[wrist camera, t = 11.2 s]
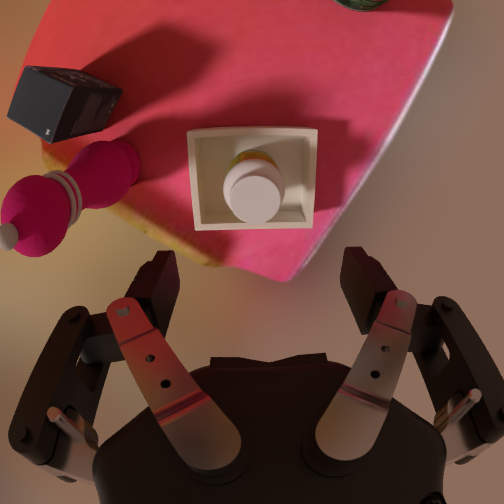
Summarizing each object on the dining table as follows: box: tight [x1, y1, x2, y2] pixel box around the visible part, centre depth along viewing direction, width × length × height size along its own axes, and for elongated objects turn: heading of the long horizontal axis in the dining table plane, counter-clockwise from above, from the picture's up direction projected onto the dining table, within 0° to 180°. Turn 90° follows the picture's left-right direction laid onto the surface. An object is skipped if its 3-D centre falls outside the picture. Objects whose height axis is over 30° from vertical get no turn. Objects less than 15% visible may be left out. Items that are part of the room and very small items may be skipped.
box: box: [7, 66, 123, 144], centre depth 20 cm, size 8×6×11 cm
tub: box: [187, 126, 318, 230], centre depth 28 cm, size 10×12×4 cm
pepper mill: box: [0, 140, 140, 257], centre depth 20 cm, size 7×7×20 cm
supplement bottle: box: [223, 149, 285, 224], centre depth 25 cm, size 5×5×10 cm
